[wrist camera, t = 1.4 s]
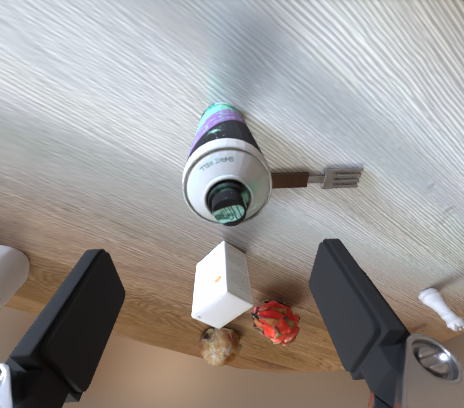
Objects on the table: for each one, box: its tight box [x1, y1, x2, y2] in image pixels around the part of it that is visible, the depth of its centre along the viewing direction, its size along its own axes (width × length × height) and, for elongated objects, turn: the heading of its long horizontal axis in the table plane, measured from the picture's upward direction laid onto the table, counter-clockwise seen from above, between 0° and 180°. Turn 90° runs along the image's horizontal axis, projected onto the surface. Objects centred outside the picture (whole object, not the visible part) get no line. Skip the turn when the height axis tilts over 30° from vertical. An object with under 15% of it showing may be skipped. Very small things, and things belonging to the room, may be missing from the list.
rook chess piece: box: [419, 288, 464, 331], centre depth 47 cm, size 4×4×8 cm
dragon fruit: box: [251, 299, 300, 346], centre depth 46 cm, size 8×8×12 cm
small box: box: [192, 241, 254, 329], centre depth 36 cm, size 8×6×10 cm
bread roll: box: [199, 327, 242, 366], centre depth 53 cm, size 10×10×8 cm
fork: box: [271, 167, 363, 189], centre depth 32 cm, size 17×3×1 cm, turn 91°
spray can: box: [183, 102, 272, 226], centre depth 19 cm, size 6×6×20 cm
